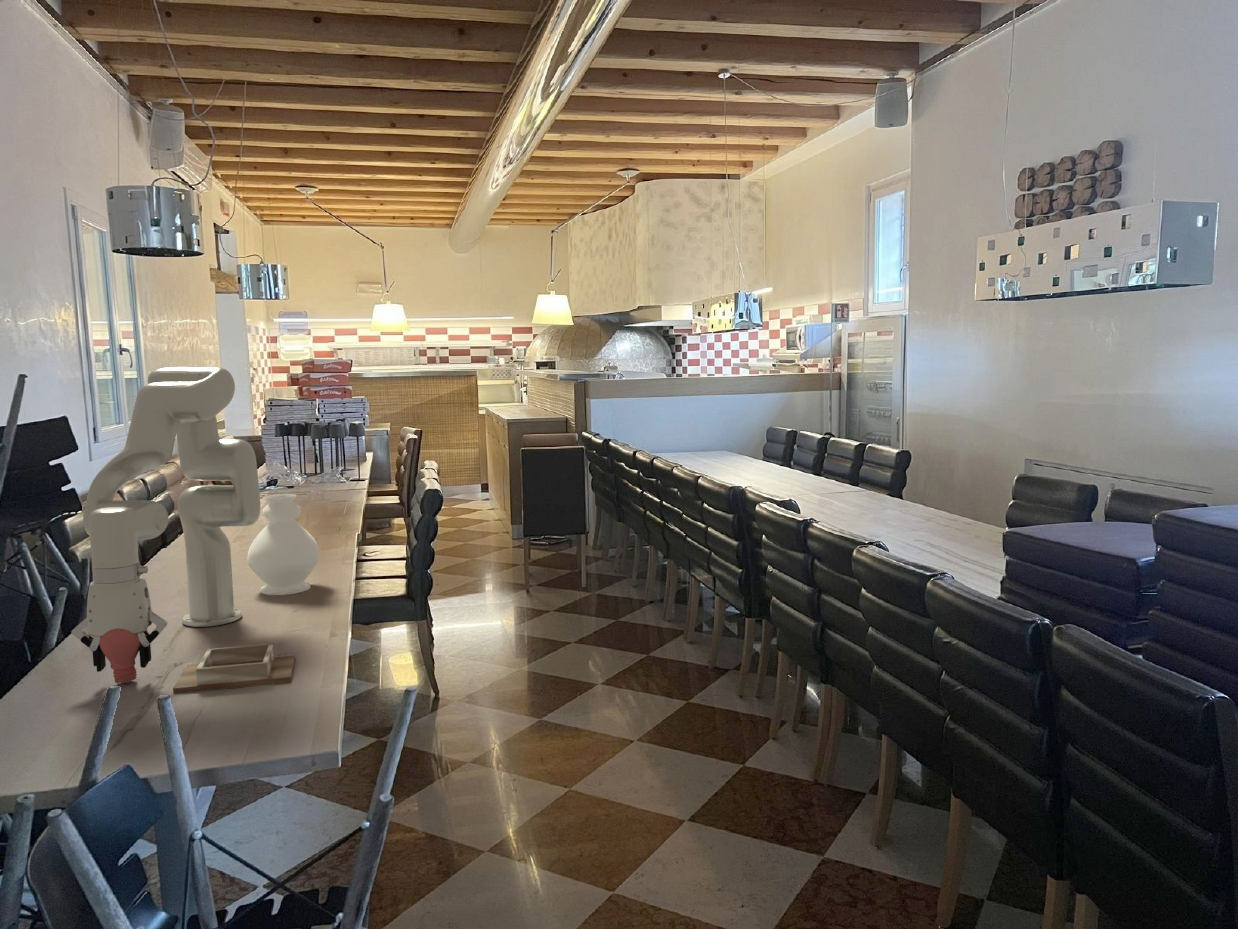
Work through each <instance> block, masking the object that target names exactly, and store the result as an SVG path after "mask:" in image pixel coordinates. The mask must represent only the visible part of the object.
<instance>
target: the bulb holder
mask: <svg viewBox="0 0 1238 929" xmlns="http://www.w3.org/2000/svg"><path fill="white" fill-rule="evenodd" d="M274 646H275V645H274V643H261V644H260V643H259V644H252V645H251V644H250V645H238V646H226V647H217V648H216V647H215V648H207V649H206V651H205V653H204V655H203V656H202V659H200V663H193V664H187V665H186V666H185V668H184V669H183V671H182V672H181V674H180V675H179V678H177V681H176V682H175V684H174V686H173V687H172V694H173V695H174V694H183V693H184V694H185V693H192V692H193V693H195V692H207V691H214V690H215V691H217V690H226V689H235V688H245V687H256V686H266V685H268V686H269V685H278V684H287V683H291V680H292V676H293V672H294V668H295V664H296V661H297V660H296V659H297V658H296V655H295V654H294V655H284V656H275V652H274V651H275V647H274Z"/></svg>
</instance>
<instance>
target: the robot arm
mask: <svg viewBox="0 0 1238 929" xmlns="http://www.w3.org/2000/svg"><path fill="white" fill-rule="evenodd" d="M235 384H236V383H235V380H234V377H233V375H232V373H231V372H230V371H228V370H227V369H225V368H223V367H215V366H214V367H213V366H212V367H210V366H209V367H208V366H205V367H204V366H201V367H200V366H199V367H193V366H192V367H191V366H172V367H171V366H170V367H162V368H161V367H160V368H158V369H154V370H153V371H151V372H150V373H149V375H148V378H147V384H145V385H143V386H142V387H141V388H139V391H138V392H137V395H136V396H135V397H136V399H135V403H134V405H133V406H134V407H133V411H132V414H131V418H130V424H129V428H128V432H127V437H126V440H125V444H124V448H122V450H121V451H120V452H119V453H118V454H116V455H115V456H114V457H112V458H111V459H110V460H109V461H108V462H107V463H106V464H105V465H104V466H103V467H102V468H101V469H100V471H99V472H97V473H96V475H95V477H94V478H93V480H92V482H90V486H89V488H88V492H87V497H86V500H85V504H84V508H83V515H82V517H83V518H82V522H83V527H84V528H83V529H84V531H85V532H86V534H87V535H88V536H89V541H90V542H89V543H90V553H91V557H90V558H91V569H92V570H91V571H92V581H91V582H90V583H89V586H88V591H87V592H88V593H87V594H88V595H87V603H86V604H87V605H86V606H87V607H86V617H85V618H84V619H83V620H82V621H80V623H78V624H77V625H75V627H74V628H73V629H72V630H71V634H72V635H73V636H74V637H75V638H76V639H78V640H79V641H80V643H81V644H84V645H85V646H86V647H87V648H88V649H89V651H91V652H92V662H93V667H96V672H97V673H99V672H102V671H103V670H104V669H105V668H106V665H107V663H106V662H107V661H106V656H105V655H104V653H103V652H102V650H101V648H100V645H99V641H100V637H101V636H103V635H104V634H105V633H106V632H108V631H110V630H112V629H125V630H128V631H130V632H132V633H134V634H137V635H138V638H139V641H140V642H141V647H140V648H139V652H138V654H139V664H140V666H139V667H140V668H142V669H145V668H146V667H147V666H148V664H149V662H151V661H152V648H151V643H152V642H153V641H155V639H157V638H158V636H159V635H160V634H161V633H162V632H163V631H164V629H165V628H166V627H167V626H168V621H167V620H165V619H164V618H163V617H161V616H159V615H158V614H156V613H155V612H153V610H152V604H151V599H150V597H151V596H150V593H149V587H148V584H147V580H146V578H145V577H143V576H141V575H143V574H148V573H149V568H148V565H141V562H140V560H139V547H138V546H139V544H138V541H146V540H152V539H155V538H157V537H159V536H160V535H162V534H163V533H164V532H165V530H166V528H167V527H168V524H169V513H168V510H167V508H166V507H165V506H164V505H163V504H162V503H160V502H158V501H155V500H145V499H144V500H129V499H126V500H123V499H122V500H121V499H120V500H114V498H115V495H116V494H117V492H118V491H119V490H120V489H121V488H122V487H123V485H126V483H128V482H129V481H131V480H132V479H134V478H136V477H138V476H140V475H143V474H146V473H147V472H150V471H152V470H154V469H157V468H159V467H161V466H163V465H165V464H167V463H168V462H169V461H170V460H171V459H172V456H173V453H174V447H175V441H176V439H177V447H178V448H177V450H178V455H179V464H180V469H181V472H182V475H183V476H184V477H185V478H186V479H188V480H190V481H191V480H192V481H196V482H198V481H199V482H200V481H201V482H213V481H215V482H219V481H220V482H226V481H228V482H231V485H227V484H226V485H222V484H217V485H216V484H212V485H210V484H209V485H208V484H207V485H195V486H191V487H188V488H186V489H184V490H183V491H182V492H181V493H180V495H179V496H178V500H177V511H178V515H179V520H180V523H181V527H182V532H183V537H184V538H183V539H184V548H185V550H184V552H185V564H186V580H187V581H186V582H187V583H186V584H187V596H188V609H189V610H188V613H187V614H184V615H183V616H182V618H181V620H182V621H181V622H182V624H183V625H185V626H188V627H196V628H199V627H200V628H201V627H202V628H204V627H205V628H206V627H216V626H220V625H221V626H222V625H226V624H230V623H233V622H236V621H237V620H239V619H241V618H242V610H241V609H239V608H235V602H234V587H233V582H234V581H233V568H232V548H231V544H230V540H229V538H228V537H227V535H226V534H225V532H224V531H223V530H222V527H249V526H253V525H254V524H255V523H257V521H259V518H260V515H261V509H262V508H261V494H260V486H259V485H260V482H259V474H258V464H257V456H256V453H255V450H254V448H253V446H252V444H250V443H249V442H248V441H246V440H245V439H239V438H223V439H222V438H221V437H220V435H219V428H218V421H217V415H219V413H220V412H221V411H222V410H224V409H225V408H226V407H228V405H229V404H230V403H231V401H232V400H233V398H234V395H235V391H236V385H235ZM152 624H155V626H156V627H155V628H154V630H152V631H151V632H149V631H148V628H149V627H150V626H151V625H152ZM86 627H87V629H86ZM85 629H86V630H87V633H86V631H85Z"/></svg>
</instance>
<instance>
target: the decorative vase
mask: <svg viewBox="0 0 1238 929" xmlns="http://www.w3.org/2000/svg"><path fill="white" fill-rule="evenodd" d="M296 499H297V494H294V493H277V494H270V495H266V496H265V500H266V501H268V502H269V503H268V504H266V506H265V505H264V507H263V509H262V516H263V517H264V518H265V519H267V521H268V523H267V524H266V525H265V526H264V527H263V528H262V529H261V530H260V531H259V532H258V534H257V535H256V536H255V538H254V539H253V541H252V543H251V544H250V546H249V549H248V552H247V564H248V566H249V568H250V569H251V570H252V572H254V574H255V575H256V576H257V577H258V578H259V579H260V580H261V581H262V582H263V583H264V584H265V585H263V586H261V587H260V589H259V590H260V591H259V592H260V593H261V594H263V595H267V596H286V595H288V596H289V595H295V594H300V593H303V592H306V591H308V590H310V589H311V588H312V587H311V583H310V582H306V580H307V578H308V576H310V574H311V573H312V571H313V570H314V569H315V567H316V566H317V564H318V562H319V560H320V555H321V554H320V553H321V552H320V548H319V545H318V543H317V541H316V539H315V538H314V537H313V535H312V534H310V532H309V531H308V530H307V529H305V527H303V526H302V524H300V523H299V522H297V521H296V519H297V518H299V516H300V515H301V512H302V509H301V506H300V505H298V503H297V502H294V500H296Z"/></svg>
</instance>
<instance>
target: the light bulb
mask: <svg viewBox="0 0 1238 929" xmlns="http://www.w3.org/2000/svg"><path fill="white" fill-rule="evenodd" d="M99 645H100V648H101V650H102V652H103V653H104V655H105V659H107V660H108V662H109V663H110V668H111V669H112V670H113V673H112V674H113V675H112V676H113V678H114V683H116V684H128V683H130V682H132V681H135V680H136V679H137V675H138V674H137V673H138V672H137V668H136V667H135V666H136V658H137V655H139V648H140V647H141V642H140V641H139V638H138V635H137V634H134V633H132V632H130V631H128V630H125V629H112V630H110V631H108V632H106V633H105V634H104V635H103V636H101V637H100V641H99Z"/></svg>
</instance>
